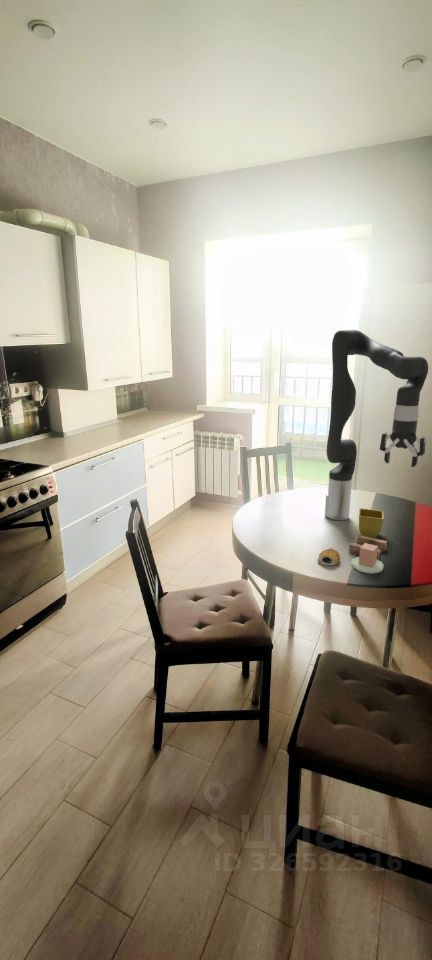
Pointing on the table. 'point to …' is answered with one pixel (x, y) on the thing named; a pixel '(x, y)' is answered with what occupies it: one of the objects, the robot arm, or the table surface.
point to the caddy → (361, 540)
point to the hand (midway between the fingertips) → (400, 464)
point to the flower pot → (370, 522)
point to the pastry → (329, 557)
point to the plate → (375, 569)
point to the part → (368, 555)
